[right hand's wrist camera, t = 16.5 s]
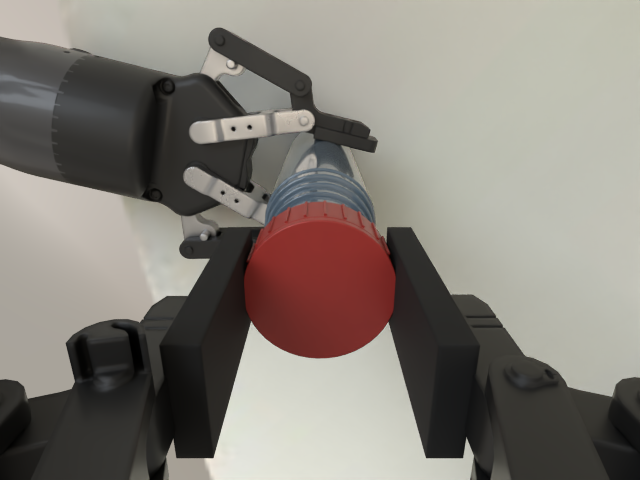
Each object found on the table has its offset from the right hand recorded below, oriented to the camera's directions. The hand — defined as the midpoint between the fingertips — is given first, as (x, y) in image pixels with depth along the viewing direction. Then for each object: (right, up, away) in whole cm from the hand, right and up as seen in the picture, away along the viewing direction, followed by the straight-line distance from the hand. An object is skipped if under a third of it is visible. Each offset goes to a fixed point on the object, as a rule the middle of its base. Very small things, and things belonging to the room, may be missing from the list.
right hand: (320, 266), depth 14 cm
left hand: (+3, +4, +13) cm, 14 cm away
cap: (0, -1, -1) cm, 2 cm away
